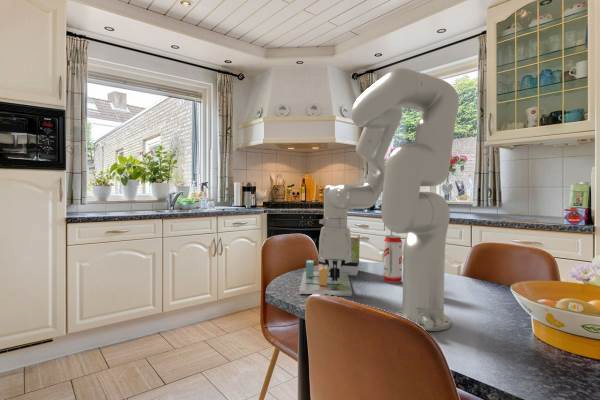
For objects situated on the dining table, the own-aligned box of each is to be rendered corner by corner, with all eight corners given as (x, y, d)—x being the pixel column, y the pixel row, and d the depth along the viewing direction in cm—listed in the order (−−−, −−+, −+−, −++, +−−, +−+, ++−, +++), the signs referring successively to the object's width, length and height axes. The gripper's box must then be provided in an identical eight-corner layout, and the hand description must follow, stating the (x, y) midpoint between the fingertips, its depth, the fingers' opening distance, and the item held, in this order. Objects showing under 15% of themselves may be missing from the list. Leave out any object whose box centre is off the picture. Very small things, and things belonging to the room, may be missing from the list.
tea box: (318, 273, 132) (318, 235, 132) (322, 268, 142) (322, 232, 142) (357, 276, 129) (358, 236, 128) (359, 270, 138) (360, 233, 138)
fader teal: (313, 277, 120) (313, 262, 120) (306, 277, 120) (306, 262, 120) (313, 274, 124) (313, 260, 124) (306, 274, 124) (306, 260, 124)
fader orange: (327, 285, 110) (327, 269, 109) (319, 285, 110) (319, 269, 110) (326, 281, 114) (327, 266, 114) (319, 281, 114) (319, 266, 114)
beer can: (399, 279, 124) (400, 235, 124) (403, 284, 118) (404, 237, 117) (382, 279, 125) (382, 235, 124) (384, 283, 118) (385, 237, 118)
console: (352, 296, 104) (352, 290, 104) (299, 294, 105) (299, 289, 105) (346, 276, 128) (346, 272, 128) (303, 275, 129) (303, 271, 129)
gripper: (311, 224, 108) (311, 282, 108) (359, 224, 107) (359, 283, 107) (312, 222, 115) (312, 276, 116) (357, 222, 114) (357, 277, 115)
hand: (334, 279), depth 112 cm, fingers closed
